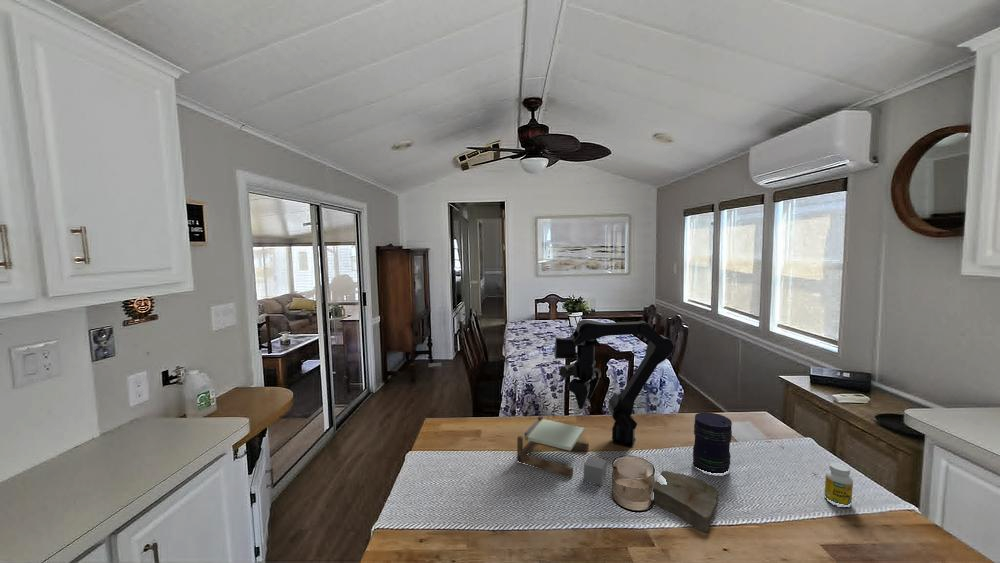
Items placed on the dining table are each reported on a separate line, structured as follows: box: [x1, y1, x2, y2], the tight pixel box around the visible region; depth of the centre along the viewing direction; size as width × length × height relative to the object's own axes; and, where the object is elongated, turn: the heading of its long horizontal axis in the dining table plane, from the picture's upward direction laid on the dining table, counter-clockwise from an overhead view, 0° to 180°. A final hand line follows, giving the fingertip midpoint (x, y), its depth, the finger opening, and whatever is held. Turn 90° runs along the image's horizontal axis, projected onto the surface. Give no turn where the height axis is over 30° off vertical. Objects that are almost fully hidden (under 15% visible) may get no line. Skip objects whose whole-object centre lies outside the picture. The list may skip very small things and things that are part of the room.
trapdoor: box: [524, 418, 585, 451], centre depth 125 cm, size 16×14×1 cm
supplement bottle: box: [824, 462, 854, 505], centre depth 103 cm, size 5×5×10 cm
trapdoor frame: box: [516, 415, 590, 478], centre depth 126 cm, size 17×17×8 cm
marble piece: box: [652, 470, 720, 533], centre depth 103 cm, size 17×15×4 cm
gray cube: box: [583, 455, 607, 486], centre depth 114 cm, size 5×5×5 cm
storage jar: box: [692, 411, 733, 473], centre depth 119 cm, size 10×10×15 cm
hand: (584, 403), depth 135 cm, fingers open, 9 cm apart
